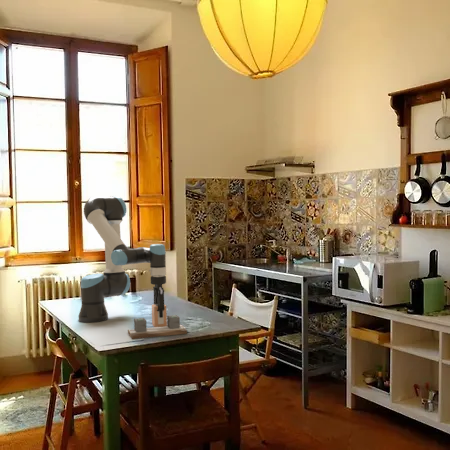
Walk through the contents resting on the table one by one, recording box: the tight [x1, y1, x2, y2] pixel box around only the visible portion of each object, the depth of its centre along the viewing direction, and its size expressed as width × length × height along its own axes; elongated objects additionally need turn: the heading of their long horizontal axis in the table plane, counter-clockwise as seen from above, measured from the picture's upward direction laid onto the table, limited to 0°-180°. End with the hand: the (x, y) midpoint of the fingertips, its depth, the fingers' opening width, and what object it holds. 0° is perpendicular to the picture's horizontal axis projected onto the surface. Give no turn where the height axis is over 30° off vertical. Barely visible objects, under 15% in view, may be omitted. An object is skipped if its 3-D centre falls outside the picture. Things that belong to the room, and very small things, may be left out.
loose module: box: [151, 303, 168, 327], centre depth 261 cm, size 6×6×10 cm
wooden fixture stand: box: [127, 314, 188, 340], centre depth 244 cm, size 12×25×7 cm, turn 109°
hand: (159, 322), depth 261 cm, fingers open, 6 cm apart
